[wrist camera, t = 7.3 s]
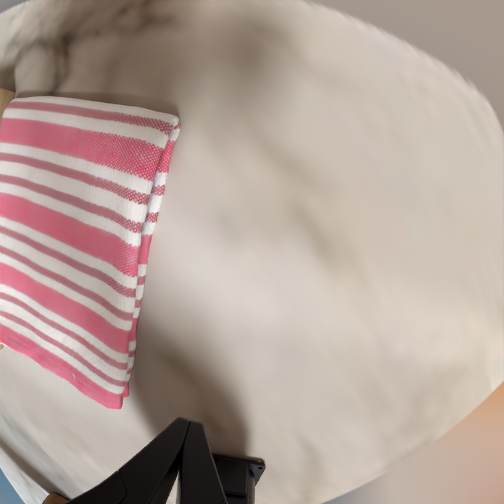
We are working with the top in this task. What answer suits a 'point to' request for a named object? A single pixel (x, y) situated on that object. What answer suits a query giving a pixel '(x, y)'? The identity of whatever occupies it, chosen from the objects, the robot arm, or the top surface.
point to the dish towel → (79, 233)
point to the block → (54, 499)
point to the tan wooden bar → (3, 98)
